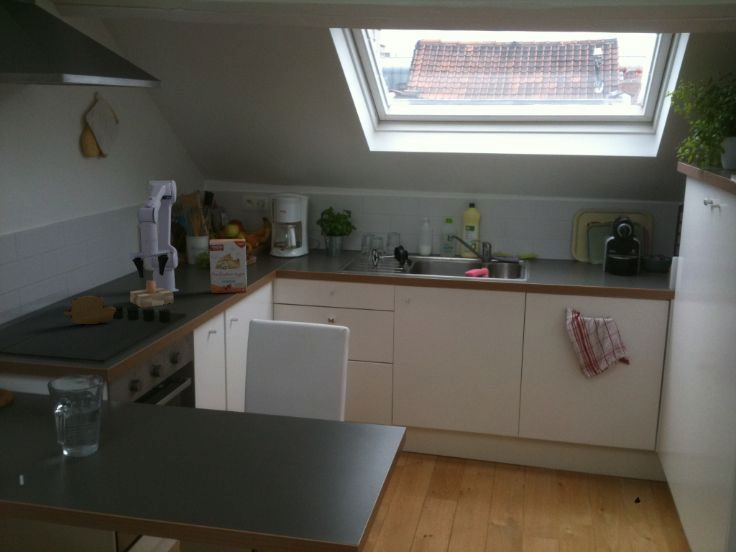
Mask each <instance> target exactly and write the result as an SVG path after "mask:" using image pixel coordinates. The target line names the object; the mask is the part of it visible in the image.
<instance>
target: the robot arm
mask: <svg viewBox="0 0 736 552" xmlns="http://www.w3.org/2000/svg"><path fill="white" fill-rule="evenodd" d="M147 188H148V190H147V191H148V193H149V194H148V195H150V196H148V197H147V198H146V199H145V201H144V204H143V205H142V207H140V208H139V209H137V212H136V213H137V215H136V216H137V222H138V229H140V239H141V240H140V241H141V243H140V244H141V251H138V252H134V253H129V259H130V260H131V261H132V262H133V263H134V266H135V267H136V270H137V272H138V276H139V278H140V279H144V260H143V259H147V258H149V264H150V267H151V268H152V269H153V273H152V280H155V282H156V288H160V287H161V288H163V289H166V290H168V291H170V292H173V293H175V292H179V291H180V289H178V288H176V282H175V281H176V279H175V269H176V268H177V267H178V264H179V257H178V250H177V248H175V247H174V246H173V245H171V230H172V229H171V225H172V221H171V220H172V219H171V218H172V207H173V204H175V203H176V200H177V184H176V181H175V180H173V179H171V180H152V179H151V180H150V181H149V182H148V187H147ZM157 223H158V226H157ZM157 227H158V229H157ZM157 231H158V232H157Z"/></svg>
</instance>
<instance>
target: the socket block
mask: <svg viewBox="0 0 736 552" xmlns="http://www.w3.org/2000/svg"><path fill="white" fill-rule="evenodd" d="M129 297H130V300H129V301H130V303H132V304H134V305H136V306H138V307H140V308H142V309H144V308H148V307H149V308H150V307H156V306H163V304H164V305H169V304H168V303H171V304H174V303H175V302H174V292H170V291H168V290H166V289H163V288H161V287H160V288H156V293H151V294H147V291H146V288H145V289H137V290H132V291H131V290H130V291H129ZM143 307H144V308H143Z"/></svg>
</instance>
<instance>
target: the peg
mask: <svg viewBox="0 0 736 552" xmlns="http://www.w3.org/2000/svg"><path fill="white" fill-rule="evenodd" d="M145 285H146V286H145V287H146V288H145V289H146V291H147V294H151V293H156V282H155V280H153V279H150V280H149V279H148V280H146V281H145Z"/></svg>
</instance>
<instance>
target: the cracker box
mask: <svg viewBox="0 0 736 552" xmlns="http://www.w3.org/2000/svg"><path fill="white" fill-rule="evenodd" d="M208 244H209V264H210V266H209V267H210V271H209V272H210V292H211V294H222V293H223V294H229V293H247V292H248V291H247V290H248V286H247V284H248V280H247V277H248V276H247V253H246V252H247V251H246V250H247V249H246V248H247V247H246V239H245V238H229V239H228V238H226V239H225V238H224V239H223V238H220V239H217V238H214V239H209V243H208Z"/></svg>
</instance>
